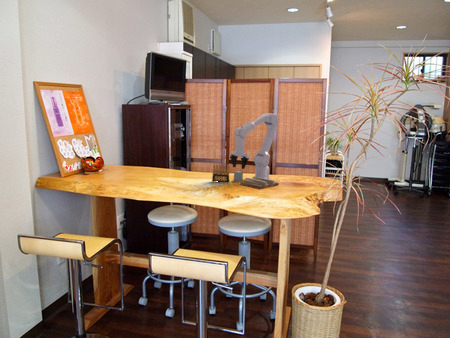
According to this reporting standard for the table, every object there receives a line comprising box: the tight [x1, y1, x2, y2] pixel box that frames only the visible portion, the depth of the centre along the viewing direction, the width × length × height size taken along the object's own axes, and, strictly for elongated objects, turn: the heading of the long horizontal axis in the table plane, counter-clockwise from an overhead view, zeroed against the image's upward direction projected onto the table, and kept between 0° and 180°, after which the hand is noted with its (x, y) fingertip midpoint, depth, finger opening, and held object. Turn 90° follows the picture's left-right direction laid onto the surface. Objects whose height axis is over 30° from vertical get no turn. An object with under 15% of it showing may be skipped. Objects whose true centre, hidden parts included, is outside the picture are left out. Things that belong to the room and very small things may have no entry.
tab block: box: [233, 170, 244, 183], centre depth 241 cm, size 4×4×6 cm
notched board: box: [239, 175, 280, 190], centre depth 231 cm, size 18×16×4 cm
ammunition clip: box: [211, 162, 230, 183], centre depth 234 cm, size 11×2×12 cm, turn 80°
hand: (238, 167), depth 240 cm, fingers open, 7 cm apart
